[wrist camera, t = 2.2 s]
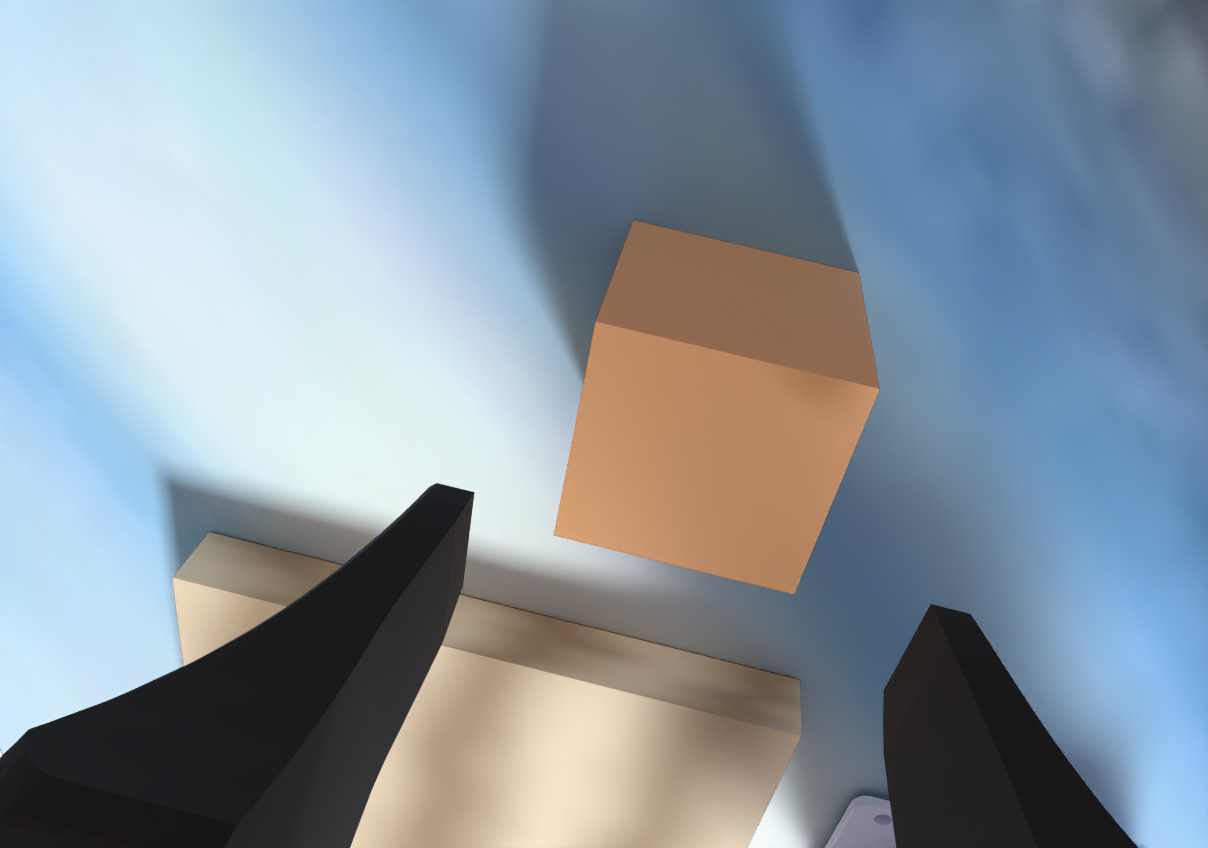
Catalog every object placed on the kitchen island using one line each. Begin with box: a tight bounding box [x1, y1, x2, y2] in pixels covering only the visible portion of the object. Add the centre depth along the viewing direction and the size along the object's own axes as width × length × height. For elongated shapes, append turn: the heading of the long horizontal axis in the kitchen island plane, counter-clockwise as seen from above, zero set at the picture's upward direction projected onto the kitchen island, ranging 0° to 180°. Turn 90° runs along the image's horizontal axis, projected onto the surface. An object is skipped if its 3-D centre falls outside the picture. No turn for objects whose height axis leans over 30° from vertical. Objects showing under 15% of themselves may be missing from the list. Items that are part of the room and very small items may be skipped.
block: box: [554, 220, 880, 594], centre depth 19 cm, size 5×5×5 cm
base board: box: [172, 532, 801, 848], centre depth 30 cm, size 18×14×2 cm
